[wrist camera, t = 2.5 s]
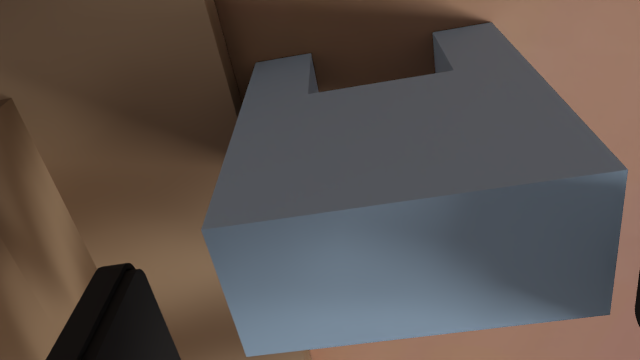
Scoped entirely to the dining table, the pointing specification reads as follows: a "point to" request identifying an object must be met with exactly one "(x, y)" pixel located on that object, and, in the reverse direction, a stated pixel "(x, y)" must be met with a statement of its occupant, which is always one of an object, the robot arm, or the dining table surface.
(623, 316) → the dining table surface
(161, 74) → the walnut stand
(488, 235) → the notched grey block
